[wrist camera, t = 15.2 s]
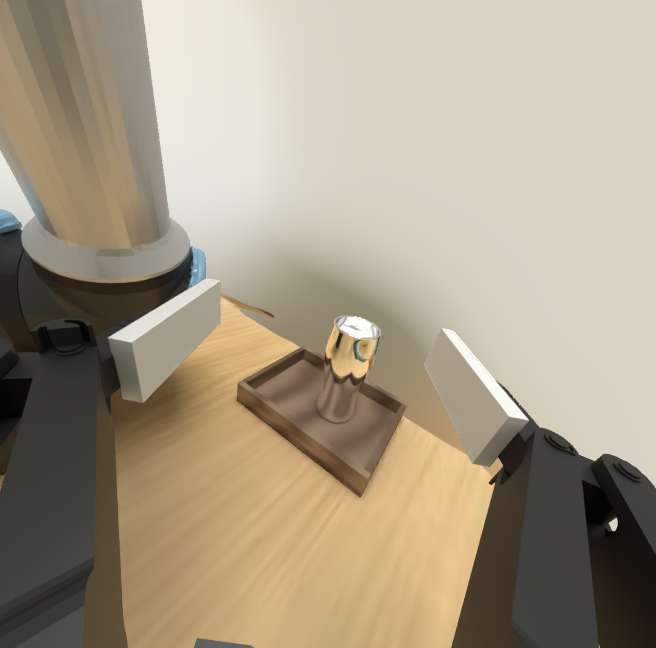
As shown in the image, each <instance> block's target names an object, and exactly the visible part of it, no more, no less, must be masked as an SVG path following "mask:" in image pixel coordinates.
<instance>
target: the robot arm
mask: <svg viewBox="0 0 656 648" xmlns="http://www.w3.org/2000/svg"><path fill="white" fill-rule="evenodd" d="M157 126H158V125H157V118H156V110H155V103H154V95H153V87H152V80H151V72H150V64H149V56H148V48H147V40H146V33H145V26H144V17H143V10H142V2H141V0H0V150H1V152H2V154H3V156H4V158H5V159H6V161H7V163H8V165H9V167H10V169H11V170H12V172H13V174H14V176H15V178H16V180H17V182H18V183H19V185H20V187H21V189H22V191H23V193H24V195H25V196H26V198H27V200H28V202H29V204H30V206H31V208H32V210H33V211H34V213H35V215H36V216H35V217H33V218H32V219H31V220H30V221H29V222H28V223H27V224H26V225H25V227H24V228H23V231H22V230H21V229H20V228H21V227H22V225H21V223H20V222H19V221H18V220H17V219H16V217H15V216H14V215H13V214H12V213H10V212H8V211H6V210H2V209H1V210H0V474H2V473H5V472H6V474H5V478H4V481H3V485H2V489H1V492H0V648H128V645H127V638H126V633H125V627H124V621H123V609H122V589H121V567H120V546H119V524H118V503H117V482H116V460H115V439H114V417H113V401H112V397H111V395H112V394H113V393H114V392H115V391H116V390H118V389H119V388H120V390H121V394H122V398H123V399H124V400H129V401H135V402H140V403H144V402H145V401H146V400H147V399H148V398H149V397H150V396H151V395H152V394H153V393H154V392H155V391H156V389H157V388H158V387H159V386H160V385H161V384H162V383H163V382H164V381H165V380H166V379H167V378H168V377H169V376H170V375H171V374H172V373H173V372H174V371H175V370H176V369H177V368H178V367H179V366H180V364H181V363H182V362H183V361H184V360H185V359H186V358H187V357H188V356H189V355H190V354H191V353H192V352H193V351H194V350H195V349H196V348H197V347H198V346H199V345H200V344H201V343H202V342H203V341H204V339H205V338H206V337H207V336H208V335H209V334H210V333H211V332H212V331H213V330H214V329H215V328H216V327H217V326H218V325H219V324H220V281H218V280H214V279H209V278H206V261H205V254H204V252H203V251H202V250H200V249H196V248H194V247H193V246H190V241H189V238H188V235H187V233H186V232H185V230H184V229H183V228H182V227H181V226H180V225H179V224H178V223H177V222H176V221H174V220H173V219H171V218H170V217H169V210H168V203H167V195H166V188H165V180H164V173H163V164H162V157H161V149H160V141H159V133H158V127H157ZM424 367H425V369H426V371H427V373H428V375H429V377H430V379H431V381H432V383H433V385H434V387H435V389H436V391H437V393H438V395H439V397H440V399H441V401H442V403H443V405H444V407H445V409H446V411H447V413H448V415H449V417H450V420H451V422H452V423H453V426H454V428H455V430H456V432H457V434H458V436H459V438H460V440H461V442H462V444H463V446H464V448H465V450H466V452H467V454H468V456H469V458H470V460H471V462H472V464H478V465H483V466H488V467H490V466H491V465H492V464H493V463H494V461H495V460H496V459H497V458H499V459H500V461H501V463H502V464H503V467H502V468H501V470H499V472H498V473H497V474H496V475H495V476H494V477H493V478H492V479H491V481H490V482H489V484H490V485H492V484H493V483H495V486H494V490H493V494H492V498H491V501H490V505H489V509H488V513H487V516H486V520H485V524H484V528H483V531H482V535H481V539H480V542H479V546H478V550H477V554H476V557H475V561H474V565H473V569H472V572H471V576H470V580H469V583H468V587H467V591H466V595H465V598H464V602H463V606H462V610H461V613H460V617H459V621H458V625H457V628H456V632H455V636H454V639H453V643H452V647H451V648H599V646H600V648H656V488H655V487H654V485H653V484H652V483H651V482H650V481H649V480H648V478H647V477H646V476H645V475H643V474H642V473H641V472H640V471H639V470H638V469H637V468H636V467H634V466H632V465H631V464H630V463H628V462H626V461H624V460H622V459H620V458H618V457H616V456H613V455H610V454H603V455H602V456H601V457H600V458H598V459H597V460H596V461H593V460H590V459H588V458H585V457H583V456H581V455H579V454H578V452H577V451H576V449H575V448H574V447H573V446H572V445H571V444H570V443H569V442H568V441H567V440H565V439H564V438H563V437H561V436H560V435H558V434H556V433H554V432H552V431H550V430H548V429H544V428H540V427H539V426H538V425H537V424H536V423H535V422H534V420H533V419H532V418H531V417H530V416H529V415H528V413H527V412H526V411H525V410H524V409H523V408H522V407H521V405H519V403H518V402H517V401H516V400H515V398H513V396H512V395H511V394H510V393H509V391H508V390H507V389H505V387H503V386H502V385H501V384H500V383H498V382H497V381H496V380H495V379H494V378H493V377H492V376H491V375H490V373H489V372H488V371H487V370H486V369H485V368H484V366H483V365H482V364H481V363H480V362H479V360H478V359H477V358H476V357H475V356H474V354H473V353H472V352H471V351H470V350H469V348H468V347H467V346H466V345H465V344H464V343H463V341H462V340H461V339H460V338H459V337H458V336H457V334H456V333H455V332H454V331H453V330H448V329H443V328H441V330H440V332H439V334H438V336H437V338H436V340H435V342H434V344H433V346H432V348H431V350H430V352H429V354H428V356H427V359H426V361H425V362H424ZM615 518H617V520H618V526H617V529H616V531H612V530H611V528H610V525H609V522H611V521H612V520H613V519H615ZM194 648H254V647H252V646H251V645H243V644H236V643H228V642H221V641H213V640H206V639H199V638H197V640H196V643H195V646H194Z"/></svg>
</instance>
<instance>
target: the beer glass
mask: <svg viewBox="0 0 656 648" xmlns="http://www.w3.org/2000/svg"><path fill="white" fill-rule="evenodd" d="M380 335H381V330H380V328H379V327H378V326H377V325H375V324H374V323H372V322H371V321H368V320H366V319H363V318H360V317H356V316H340V317H337V318H336V319H335V320H334V323H333V327H332V330H331V333H330V336H329V339H328V343H327V347H326V352H325V361H324V384H323V389H322V391H321V394H320V396H319V398H318V400H317V403H316V407H317V410H318V412H319V414H320V415H321V416H322V417H323V418H325V419H326V420H328V421H331V422H335V423H342V422H346V421H348V420H349V419H350V418H351V417H352V416H353V413H354V403H355V398H356V395H357V393H358V391H359V389H360V388H361V386H362V384H363V382H364V381H365V379H366V377H367V375H368V373H369V371H370V369H371V367H372V364H373V362H374V359H375V356H376V352H377V348H378V344H379V339H380Z"/></svg>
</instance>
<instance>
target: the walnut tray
mask: <svg viewBox="0 0 656 648" xmlns="http://www.w3.org/2000/svg"><path fill="white" fill-rule="evenodd" d="M324 361H325V357H323V356H321V355H320V354H318V353H316V352H314V351H312V350H310V349H309V348H307V347H305V346H302V347H301V348H299V349H297V350H295V351H294V352H292V353H290V354H288V355H286V356H285V357H283V358H281V359H279V360H278V361H276V362H274V363H272V364H270V365H269V366H267V367H265V368H263V369H262V370H260V371H258V372H256V373H254V374H253V375H251V376H249V377H247V378H246V379H244V380H242V381H240V382H238V390H237V401H239V402H240V403H241V404H243V405H244V406H245V407H246V408H248V409H249V410H250V411H251V412H253V413H254V414H255V415H257V416H258V417H259V418H260V419H262V420H263V421H264V422H265V423H267V424H268V425H269V426H271V427H272V428H273V429H274V430H276V431H277V432H278V433H279V434H281V435H282V436H283V437H284V438H286V439H287V440H288V441H290V442H291V443H292V444H293V445H295V446H296V447H297V448H298V449H300V450H301V451H302V452H304V453H305V454H306V455H307V456H309V457H310V458H311V459H312V460H314V461H315V462H316V463H318V464H319V465H320V466H321V467H323V468H324V469H325V470H326V471H328V472H329V473H330V474H332V475H333V476H334V477H335V478H337V479H338V480H339V481H340V482H342V483H343V484H344V485H345V486H347V487H348V488H349V489H351V490H352V491H353V492H354V493H356V494H357V495H358V496H359V497H361V495H362V493H363V491H364V489H365V487H366V485H367V483H368V481H369V479H370V477H371V475H372V474H373V472H374V470H375V468H376V466H377V464H378V462H379V460H380V458H381V456H382V454H383V452H384V450H385V448H386V446H387V445H388V443H389V441H390V439H391V437H392V435H393V433H394V431H395V429H396V427H397V425H398V423H399V421H400V419H401V417H402V415H403V413H404V411H405V408H406V406H407V404H408V403H407V402H405V401H403V400H401V399H399V398H398V397H396V396H394V395H392V394H390V393H388V392H387V391H385V390H383V389H381V388H379V387H378V386H375V385H374V384H372V383H370V382H369V381H367V380H365V381H364V382H363V384H362V386H361V388H360V389H359V391H358V393H357V395H356V398H355V403H354V413H353V416H352V417H351V418H350V419H349V420H348V421H346V422H342V423H335V422H331V421H328V420H326V419H325V418H323V417H322V416H321V415H320V414H319V412H318V410H317V407H316V403H317V400H318V398H319V396H320V394H321V391H322V389H323V384H324Z"/></svg>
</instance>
